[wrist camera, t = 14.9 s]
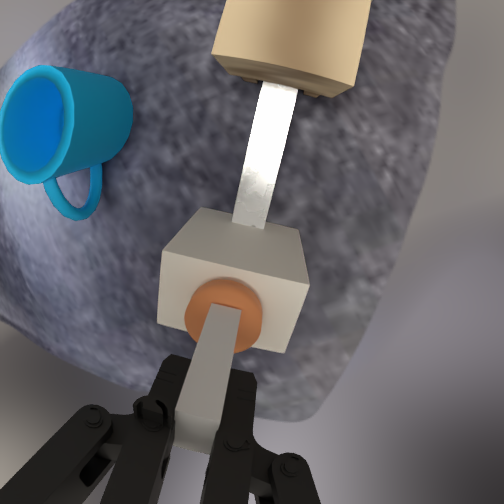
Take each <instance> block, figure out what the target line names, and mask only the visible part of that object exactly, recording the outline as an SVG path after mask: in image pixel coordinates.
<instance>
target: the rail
mask: <svg viewBox="0 0 504 504" xmlns="http://www.w3.org/2000/svg"><path fill="white" fill-rule="evenodd" d="M297 92H298V89H297V88H293V87H289V86H285V85H281V84H276V83H272V82H267V81H263V85H262V89H261V93H260V97H259V101H258V105H257V110H256V114H255V118H254V122H253V127H252V131H251V135H250V140H249V144H248V149H247V153H246V157H245V162H244V166H243V171H242V175H241V180H240V185H239V189H238V194H237V198H236V203H235V208H234V212H233V217H232V222H234V223H238V224H243V225H247V226H251V227H256V228H260V229H264V226H265V222H266V218H267V214H268V210H269V206H270V202H271V198H272V194H273V190H274V186H275V181H276V177H277V173H278V169H279V165H280V161H281V157H282V153H283V149H284V145H285V141H286V137H287V133H288V129H289V125H290V121H291V117H292V112H293V108H294V104H295V100H296V96H297Z"/></svg>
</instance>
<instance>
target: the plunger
mask: <svg viewBox="0 0 504 504" xmlns="http://www.w3.org/2000/svg"><path fill="white" fill-rule="evenodd" d="M211 303H214V304H218V305H222V306H227V307H231V308H235V309H239V310H242V311H241V316H240V321H239V327H238V332H237V337H236V342H235V348H234V353H237V352H241V351H244V350H246V349H248V348H249V347H251V346H252V345H253V344H254V343H255V342H256V341H257V339H258V338H259V336H260V333H261V327H262V313H263V312H262V306H261V303H260V301H259V299H258V297H257V296H256V295H255V293H254V292H253V291H252V290H250V289H249V288H248V287H246V286H245V285H243V284H241V283H238V282H235V281H232V280H223V279H221V280H213V281H209V282H207V283H205V284H203V285H201V286H200V287H199V288H198V289H197V290H196V291H195V292H194V294H193V295H192V297H191V300H190V302H189V304H188V306H187V308H186V311H185V315H184V321H185V326H186V329H187V331H188V333H189V334H190V336H191V337H192V338H193V339H194V340H195V341H196V342H197V343H198V340H199V337H200V334H201V332H202V329H203V326H204V323H205V320H206V317H207V314H208V312H209V309H210V306H211Z"/></svg>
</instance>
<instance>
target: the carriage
mask: <svg viewBox="0 0 504 504" xmlns="http://www.w3.org/2000/svg"><path fill="white" fill-rule="evenodd" d="M370 4H371V0H227V1H226V4H225V8H224V11H223V14H222V18H221V21H220V24H219V28H218V31H217V35H216V39H215V42H214V46H213V50H212V55H213V56H214V57H215V59H216V60H217V61H218V62H219V63H220V64H221V65H222V66H223V68H224V69H225V70H226V71H227V72H228V73H229V75H235V76H241V77H242V79H243V80H244V81H246V82H252V83H257V84H258V80H262V81H267V82H272V83H276V84H281V85H285V86H289V87H293V88H297V89H301V90H304V92H303V94H304V95H308V96H312V97H315V98H317V97H318V96H319V95H323V96H326V97H330V98H333V97H335V96H336V95H338V94H340V93H342V92H344V91H346V90H348V89H349V88H351V87H353V86H354V83H355V79H356V74H357V70H358V65H359V60H360V56H361V51H362V46H363V41H364V36H365V31H366V26H367V21H368V15H369V10H370Z"/></svg>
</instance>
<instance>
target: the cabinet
mask: <svg viewBox="0 0 504 504" xmlns="http://www.w3.org/2000/svg"><path fill="white" fill-rule="evenodd" d="M232 217H233V214H231V213H227V212H222V211H218V210H214V209H209V208H205V207H200V208H199V210H198V211H197V212H196V213H195V214H194V215H193V216H192V217H191V218H190V219H189V221H188V222H187V223H186V224H185V225H184V226H183V227H182V228H181V230H180V231H179V232H178V233H177V234H176V235H175V236H174V237H173V239H172V240H171V241H170V242H169V243H168V244H167V245H166V247H165V248H164V249H163V250H162V259H161V270H160V283H159V297H158V313H157V323H158V324H162V325H165V326H169V327H172V328H176V329H180V330H183V331H187V329H186V326H185V321H184V315H185V311H186V308H187V306H188V304H189V302H190V300H191V297H192V295H193V294H194V292H195V291H196V290H197V289H198V288H199V287H200V286H201V285H203V284H205V283H207V282H209V281H213V280H221V279H223V280H232V281H235V282H238V283H241V284H243V285H245V286H246V287H248V288H249V289H250V290H252V291H253V292H254V293H255V295H256V296H257V297H258V299H259V301H260V303H261V306H262V312H263V313H262V327H261V333H260V336H259V338H258V339H257V341H256V342H255V343H254V344H253V345H252V346H251V347H255V348H259V349H264V350H269V351H274V352H280V353H284V352H285V350H286V347H287V345H288V342H289V340H290V337H291V334H292V332H293V329H294V327H295V324H296V321H297V319H298V316H299V313H300V311H301V308H302V305H303V303H304V300H305V297H306V294H307V292H308V289H309V286H310V283H309V278H308V273H307V268H306V263H305V258H304V253H303V248H302V243H301V239H300V234H299V230H298V229H294V228H290V227H286V226H282V225H278V224H274V223H270V222H265V226H264V229H260V228H256V227H251V226H247V225H243V224H238V223H234V222H232ZM187 332H188V331H187Z"/></svg>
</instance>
